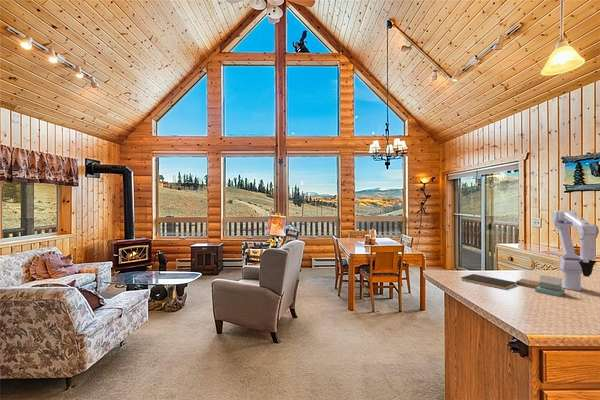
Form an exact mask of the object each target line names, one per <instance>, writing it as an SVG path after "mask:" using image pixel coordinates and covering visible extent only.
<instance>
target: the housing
mask: <svg viewBox="0 0 600 400" xmlns="http://www.w3.org/2000/svg"><path fill="white" fill-rule="evenodd" d="M539 282H540V288H545V289H550V290H555V291H560V290H561V289H562V288H561V286H563V277H557V276H551V275H544V274H542V275H540V276H539Z"/></svg>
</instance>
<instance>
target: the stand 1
mask: <svg viewBox="0 0 600 400" xmlns="http://www.w3.org/2000/svg"><path fill="white" fill-rule="evenodd" d="M515 282H516V285H515V286H521V287H527V288H531V289H535V288H536V287H538V286H540V281H538V280H534V279H533V280H532V279H528V278H527V279H525V278H520V279H517V280H515Z"/></svg>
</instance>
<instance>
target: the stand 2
mask: <svg viewBox="0 0 600 400" xmlns="http://www.w3.org/2000/svg"><path fill="white" fill-rule="evenodd" d="M534 289H535V291H534V292H535V293H540V294H545V295H549V296H556V297H561V296H563V295H564V294H565V292H566V291H565V288H561V290H560V291H555V290H550V289H545V288H540V286H538V287H536V288H534Z"/></svg>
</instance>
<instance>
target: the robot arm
mask: <svg viewBox="0 0 600 400" xmlns="http://www.w3.org/2000/svg"><path fill="white" fill-rule="evenodd" d="M551 219H552V223H553V226H554V227H555V228H557V233H558V237H559V241H560V244H561V249H562V251H563V252H562V253H563V255H561V256H559V259H558V262H559V263H558V265H559V266H558V267H559V269H560V270H561V271H562V272H563V274H562V286H561V289H566V290H572V291H576V292H577V291H578V292H580V291H582V290H583V289H584V287H583V286H582V276H581V275H583V277H586V278H587V277H588V278H590V277H591V275H592V274H593V269H594V266H595V264H596V263H597V261H596V259H597V258H596V242H597V241H596V239H597V238H596V237H597V236H598V235H599V232H600V230H599V226H598V225H597V224H595V223H594V224H591V223H589V221H587V220H586V219H585V218H584V217H578V215H577V211H575V210H558V209H557V210H556V209H555V210H553V211H552V214H551ZM572 227H573V228H574V229H576V230H577V232H578V238H579V241H580V242H579V245H580V247H579V255H578V254H577V253H576V251H575V248H574V243H573V240H572V239H573V238H572V237H571V236H572V235H571V232H570V228H572Z"/></svg>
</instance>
